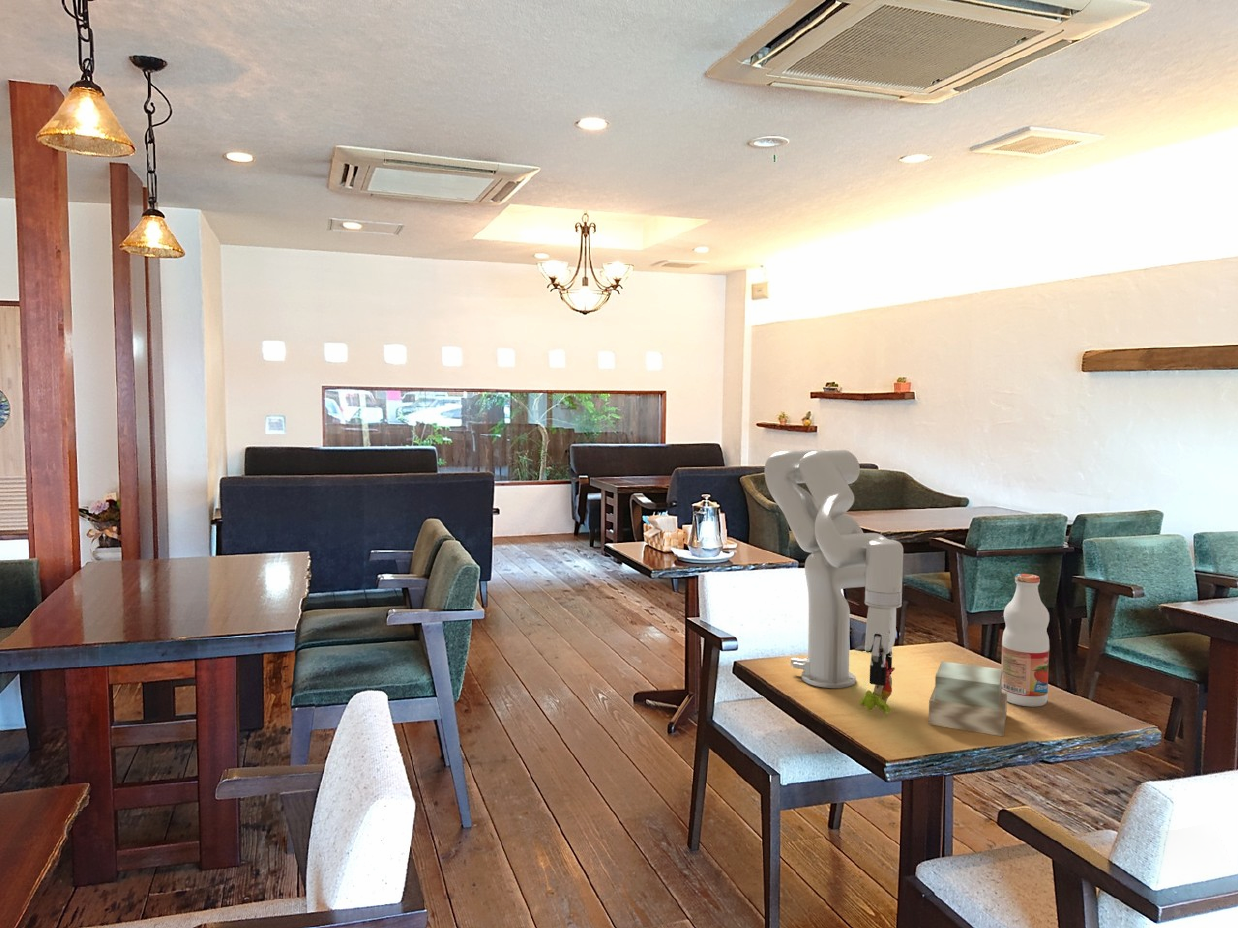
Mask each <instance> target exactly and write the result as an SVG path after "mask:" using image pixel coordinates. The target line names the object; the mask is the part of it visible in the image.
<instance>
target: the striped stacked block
mask: <svg viewBox="0 0 1238 928" xmlns="http://www.w3.org/2000/svg"><path fill="white" fill-rule="evenodd" d="M934 677H935V679H934V680H935V684H934V688H933V690H932V693H931V695H930V697H929V700H928V725H930V726H931V725H932V726H935V727H943V728H950V729H956V730H960V731H969V732H974V733H979V734H980V733H981V734H985V735H987V734H988V735H993V736H1001V737H1004V736H1005V735H1004V733H1005V728H1006V721H1007V720H1006V719H1007V706H1008V705H1007V704H1008V702H1007V692H1006V691H1002V669H1001V668H996V667H988V666H980V665H972V664H963V663H957V662H956V663H955V662H950V661H941V662H940V664H939V667H938V669H937V672H936V674H935V676H934Z"/></svg>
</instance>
